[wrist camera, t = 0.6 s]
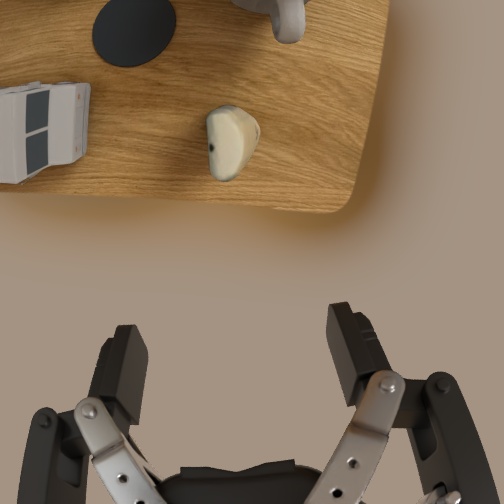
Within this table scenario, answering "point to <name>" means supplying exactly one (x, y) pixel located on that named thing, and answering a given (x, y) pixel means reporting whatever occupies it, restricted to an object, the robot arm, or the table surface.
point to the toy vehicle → (41, 127)
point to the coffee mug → (280, 16)
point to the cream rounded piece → (230, 141)
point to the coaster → (133, 30)
